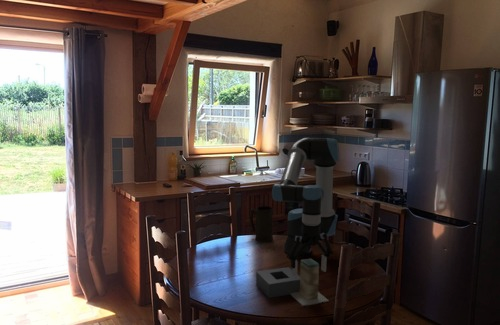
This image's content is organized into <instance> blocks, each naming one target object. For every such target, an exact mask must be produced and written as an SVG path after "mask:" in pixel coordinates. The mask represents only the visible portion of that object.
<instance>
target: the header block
mask: <svg viewBox="0 0 500 325" xmlns="http://www.w3.org/2000/svg"><path fill="white" fill-rule="evenodd" d="M292 273H293V268H290V267H288V266H287V267H281V268H273V269H272V268H271V269H265V270H258V271H257V270H256V275H255V276H256V277H255V278H256V280H255V281H256V286H257V287H258V288H259V289H260V291H262V292H263V293H264V295H266V296H267V298H268V299H270V298H276V297H283V296H288V295H290V293H295V292H300V274H298V273H297V276H294V275H293V274H292ZM290 296H291V295H290Z"/></svg>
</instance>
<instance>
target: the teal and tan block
mask: <svg viewBox="0 0 500 325" xmlns="http://www.w3.org/2000/svg"><path fill="white" fill-rule="evenodd" d="M299 269H300V272H299V276H300V295H302V296H303V297H304V298H305V299H306V300H313V299H318V292H319V277H320V276H319V275H320V274H319V273H320V272H319V271H320V263H319V262H317V261H315V260H314V259H312V258H305V259H304V258H303V259H300V267H299Z"/></svg>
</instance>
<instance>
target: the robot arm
mask: <svg viewBox="0 0 500 325" xmlns="http://www.w3.org/2000/svg"><path fill="white" fill-rule="evenodd" d="M306 161H313V166H314V167H315V168H316V170H315V184H307V185H299V184H298V182H299V179H300V174H301V172H302V168H303V165H304V163H305V162H306ZM338 162H340V148H339V142H338V140H337V139H335V138H330V137H303V138H300V139H298V140H297V141H296V142H294V143H293V144H292V145H291V146H290V148H289V149H288V152H287V161H286V164H285V168H284V170H283V173H282V176H281V179H280V182H279V183H274V184H273V186H272V190H271V196H272V200H273V201H276V202H281V203H282V202H283V203H284V202H285V203H295V204H298V203H300V204H302V208H295V209H292V210H290V211H288V214H287V236H286V239H285V242H284V245H283V251H284V252H285V253H286V254H287V255H286V258H287V259H288V260H290V266H291V269H292V270H293V273H292V274H293V275H294V276H297V274H298V264H299V263H298V260H297V259H298V258H299V256H306V255H309V254H311V252H312V246H316V247H317V249H319V251H320V252H322V254H321V262H320V263H321V264H320V265H321V266H320V270H321V271H322V272H324V273H326V272H327V264H328V263H329V258H330V257H331V255H333V249H332V247H331V245H330V244H329V241H328V237H329V236H330V237H331V236H334V235H335V233H336V227H337V221H338V214H336V211H335V210H334V208H333V190H334V188H333V187H334V186H333V184H334V168H335V167H336V166H337V163H338ZM327 236H328V237H327ZM319 240H321V241H322V243H323V245H322V243H321V242H320V241H319ZM324 247H325V248H324Z"/></svg>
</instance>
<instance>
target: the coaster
mask: <svg viewBox="0 0 500 325" xmlns="http://www.w3.org/2000/svg"><path fill="white" fill-rule="evenodd" d="M290 296H291V297H292V298H293V299H295V300H296V301H297V303H299V304H300V305H301V306H302V307H304V306H311V305H317V304H321V303H322V302H323V303H327V302H328V303H329V299H328V298H326V296H324V295H323V294H321V293H320V291H318V299H313V300H306V299H305V298H304V297H303V296H302V295H300V292H295V293H290ZM323 303H322V304H323Z"/></svg>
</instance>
